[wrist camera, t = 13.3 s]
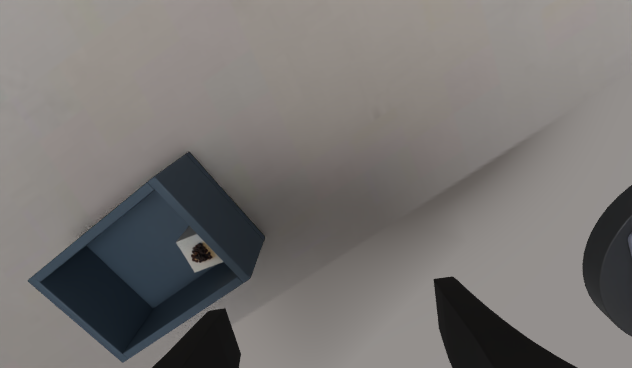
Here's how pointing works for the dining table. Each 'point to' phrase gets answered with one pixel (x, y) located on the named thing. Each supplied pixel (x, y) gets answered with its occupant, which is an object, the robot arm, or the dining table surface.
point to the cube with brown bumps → (197, 251)
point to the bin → (152, 260)
